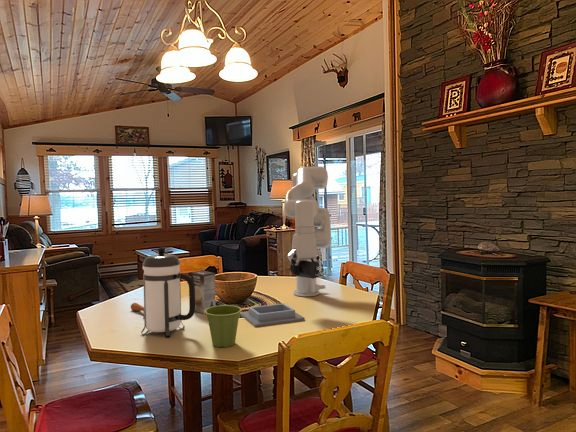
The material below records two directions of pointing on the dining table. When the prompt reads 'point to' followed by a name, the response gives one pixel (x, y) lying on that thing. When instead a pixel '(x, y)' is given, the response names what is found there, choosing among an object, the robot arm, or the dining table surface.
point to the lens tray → (271, 315)
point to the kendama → (137, 307)
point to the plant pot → (223, 324)
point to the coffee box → (204, 290)
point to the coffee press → (164, 293)
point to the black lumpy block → (307, 269)
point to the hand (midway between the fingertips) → (304, 273)
